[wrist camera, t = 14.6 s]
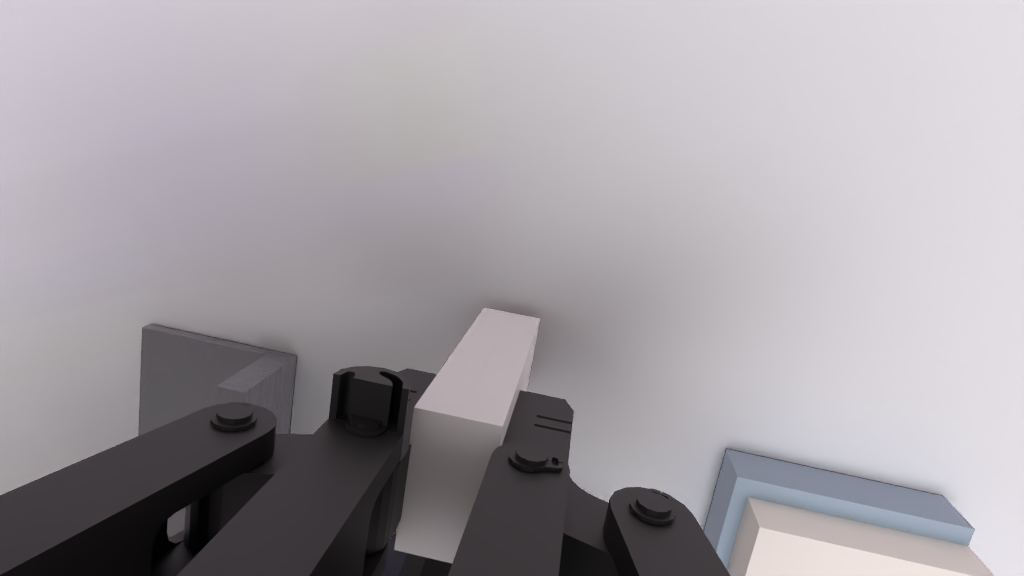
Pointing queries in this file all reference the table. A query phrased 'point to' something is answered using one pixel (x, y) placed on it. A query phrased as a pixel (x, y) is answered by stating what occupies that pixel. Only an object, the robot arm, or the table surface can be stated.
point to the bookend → (208, 381)
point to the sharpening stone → (831, 524)
